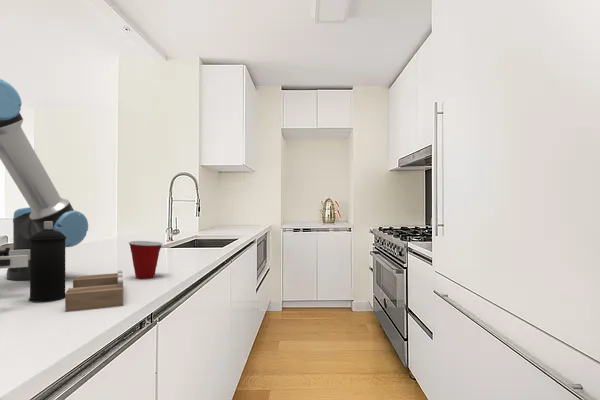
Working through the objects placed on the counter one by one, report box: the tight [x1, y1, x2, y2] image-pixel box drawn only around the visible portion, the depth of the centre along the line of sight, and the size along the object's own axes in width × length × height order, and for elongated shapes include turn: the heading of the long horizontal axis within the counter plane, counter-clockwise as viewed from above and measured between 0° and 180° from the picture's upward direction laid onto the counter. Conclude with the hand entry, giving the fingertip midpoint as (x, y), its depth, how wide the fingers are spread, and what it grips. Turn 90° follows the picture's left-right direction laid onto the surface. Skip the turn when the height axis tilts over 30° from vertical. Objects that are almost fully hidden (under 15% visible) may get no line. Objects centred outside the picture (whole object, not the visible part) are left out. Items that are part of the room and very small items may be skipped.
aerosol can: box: [28, 221, 67, 303], centre depth 102 cm, size 8×8×20 cm
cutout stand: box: [64, 270, 124, 312], centre depth 103 cm, size 24×12×5 cm, turn 25°
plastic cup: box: [128, 240, 164, 280], centre depth 130 cm, size 11×11×12 cm
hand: (33, 257), depth 100 cm, fingers open, 13 cm apart
